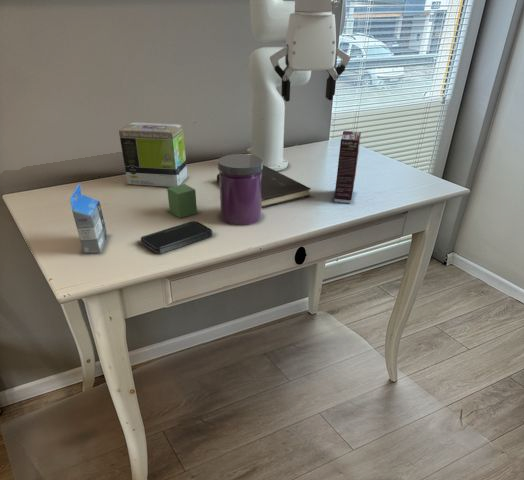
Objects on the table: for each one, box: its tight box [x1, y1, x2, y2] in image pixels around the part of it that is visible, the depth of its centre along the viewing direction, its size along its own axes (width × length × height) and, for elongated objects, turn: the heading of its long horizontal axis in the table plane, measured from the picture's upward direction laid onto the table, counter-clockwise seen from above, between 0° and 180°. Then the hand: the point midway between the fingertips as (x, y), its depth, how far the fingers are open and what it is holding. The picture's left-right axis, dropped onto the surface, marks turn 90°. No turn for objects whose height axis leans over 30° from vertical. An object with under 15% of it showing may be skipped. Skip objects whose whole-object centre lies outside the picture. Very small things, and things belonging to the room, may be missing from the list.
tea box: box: [118, 121, 188, 188], centre depth 137 cm, size 15×10×15 cm, turn 80°
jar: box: [217, 153, 263, 226], centre depth 118 cm, size 10×10×14 cm
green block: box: [166, 183, 198, 219], centre depth 122 cm, size 5×5×6 cm
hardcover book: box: [216, 165, 311, 209], centre depth 137 cm, size 16×23×2 cm
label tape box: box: [69, 182, 108, 254], centre depth 106 cm, size 9×4×12 cm, turn 5°
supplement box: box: [333, 130, 362, 204], centre depth 129 cm, size 9×5×16 cm, turn 168°
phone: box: [140, 220, 213, 254], centre depth 112 cm, size 8×1×15 cm
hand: (307, 99), depth 109 cm, fingers open, 9 cm apart
